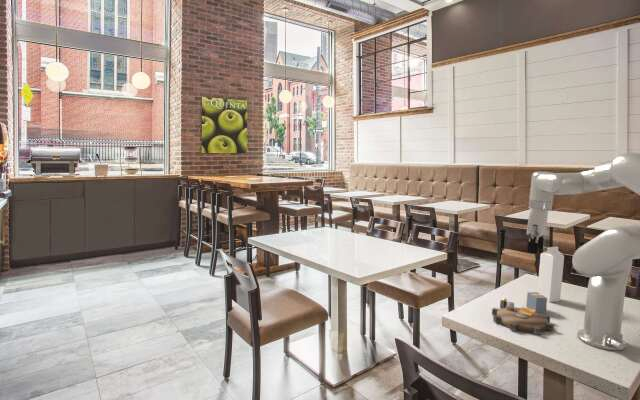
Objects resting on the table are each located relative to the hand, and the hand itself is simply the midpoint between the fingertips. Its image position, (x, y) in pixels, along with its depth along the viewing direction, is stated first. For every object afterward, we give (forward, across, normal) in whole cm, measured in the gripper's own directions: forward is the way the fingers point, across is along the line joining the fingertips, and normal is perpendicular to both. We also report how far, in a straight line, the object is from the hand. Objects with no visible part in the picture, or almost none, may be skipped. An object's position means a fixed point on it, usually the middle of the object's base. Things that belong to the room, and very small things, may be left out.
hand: (535, 250), depth 146 cm
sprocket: (+23, +15, +1) cm, 28 cm away
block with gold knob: (+24, +6, -7) cm, 25 cm away
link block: (+24, -1, +2) cm, 24 cm away
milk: (+24, -17, +4) cm, 30 cm away
